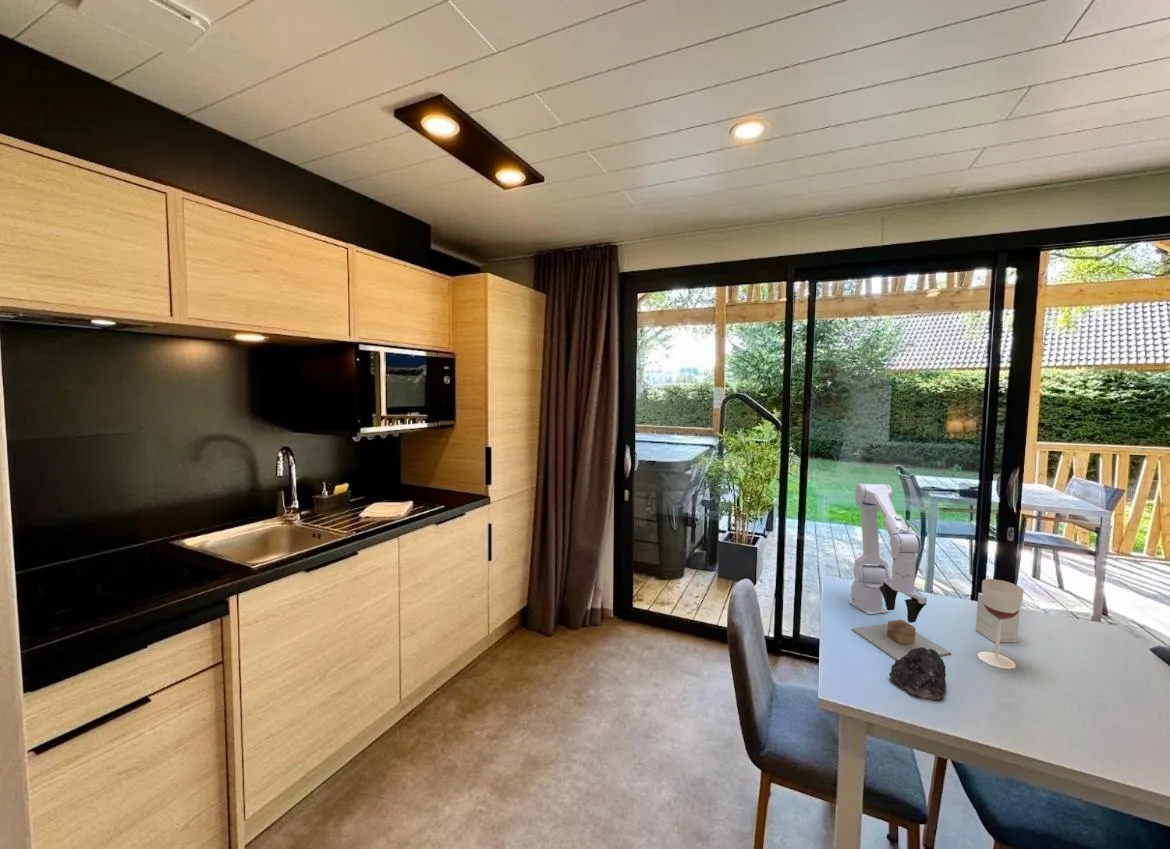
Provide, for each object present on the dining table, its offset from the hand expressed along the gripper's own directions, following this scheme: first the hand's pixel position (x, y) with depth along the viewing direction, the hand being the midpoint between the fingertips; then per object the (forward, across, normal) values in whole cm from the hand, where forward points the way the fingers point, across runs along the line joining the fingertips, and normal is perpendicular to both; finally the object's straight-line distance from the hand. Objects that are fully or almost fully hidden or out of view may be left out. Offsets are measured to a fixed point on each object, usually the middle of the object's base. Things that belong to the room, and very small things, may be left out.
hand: (900, 615), depth 146 cm
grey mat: (+8, 0, 0) cm, 8 cm away
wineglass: (+9, -14, -19) cm, 25 cm away
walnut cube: (+8, 0, 0) cm, 8 cm away
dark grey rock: (+9, -18, +12) cm, 23 cm away
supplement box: (+9, -4, -32) cm, 33 cm away
